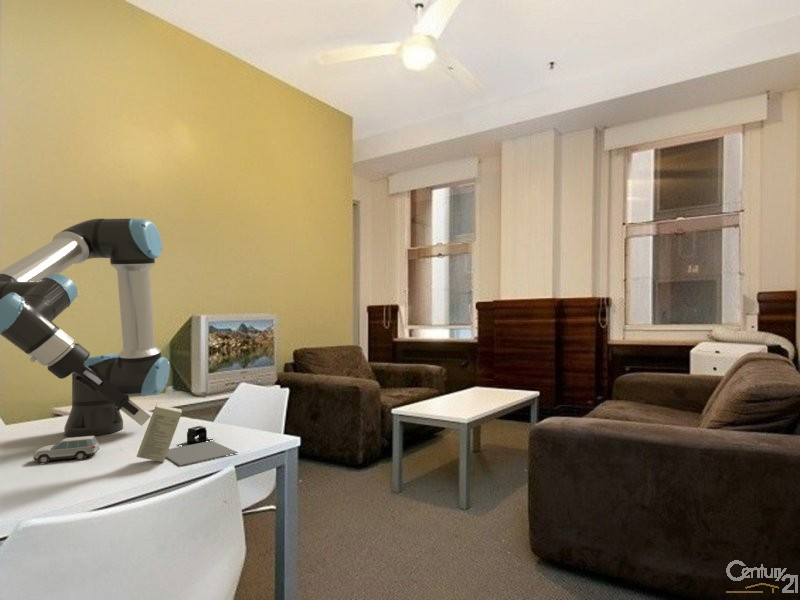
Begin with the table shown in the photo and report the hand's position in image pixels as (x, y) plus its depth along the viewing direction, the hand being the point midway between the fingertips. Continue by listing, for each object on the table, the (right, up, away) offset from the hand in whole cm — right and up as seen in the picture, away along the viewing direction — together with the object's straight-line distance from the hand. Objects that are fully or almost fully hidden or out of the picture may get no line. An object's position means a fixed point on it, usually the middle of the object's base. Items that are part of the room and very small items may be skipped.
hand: (145, 420), depth 111 cm
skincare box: (+1, -9, +1) cm, 9 cm away
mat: (+9, -10, +8) cm, 16 cm away
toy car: (-22, -11, +4) cm, 25 cm away
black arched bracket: (+4, -12, +18) cm, 22 cm away
